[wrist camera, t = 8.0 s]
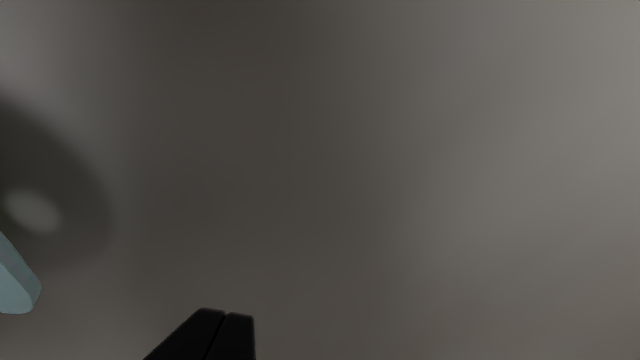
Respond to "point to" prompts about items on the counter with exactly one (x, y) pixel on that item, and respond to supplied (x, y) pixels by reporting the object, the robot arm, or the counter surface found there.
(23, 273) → the pacifier
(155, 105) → the counter surface
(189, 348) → the robot arm
